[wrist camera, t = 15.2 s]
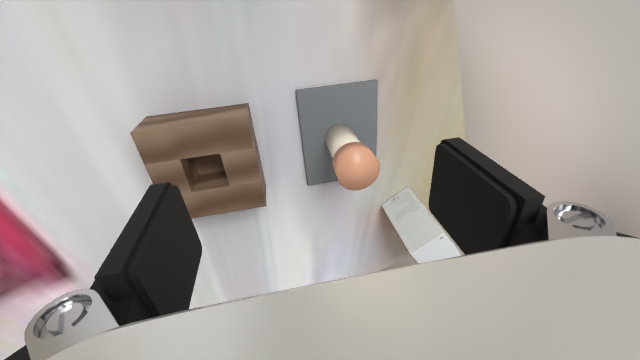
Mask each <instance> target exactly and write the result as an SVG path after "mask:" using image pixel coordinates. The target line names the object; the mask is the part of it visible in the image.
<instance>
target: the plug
mask: <svg viewBox="0 0 640 360" xmlns="http://www.w3.org/2000/svg"><path fill="white" fill-rule="evenodd" d="M325 142H326V145H327V147H328V149H329V151H330V154H331V156H332V158H333V161H332V165H333V169H334V171H335V174H336V176H337V178H338V181H339V182H340V184H341V185H342V186H343V187H345V188H346V189H349V190H361V189H364V188H366V187H368V186H370V185H371V184H372V183H373V182H374V181H375V180H376V179H377V177H378V175H379V171H380V165H379V161H378V160H377V158H376V157H375V155H374V154H373V153H372V151H371V150H370V149H369V147H368V146H366V145H365V144H363V143H361V142H360V141H359V140H358V138H357V137H356V135H355V134H354V133H353V131H352V130H351V128H350V127H348V126H347V125H343V124H338V125H335V126H333V127H331V128H330V129H329V130H328V132H327V133H326V136H325Z"/></svg>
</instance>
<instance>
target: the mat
mask: <svg viewBox="0 0 640 360" xmlns="http://www.w3.org/2000/svg"><path fill="white" fill-rule="evenodd" d="M296 96H297V104H298V112H299V120H300V128H301V136H302V144H303V152H304V160H305V168H306V176H307V184H308V185H314V184H320V183H326V182H332V181H338V178H337V176H336V174H335V171H334V169H333V165H332V161H333V158H332V156H331V154H330V151H329V149H328V147H327V145H326V142H325V136H326V133H327V132H328V130H329V129H330V128H331V127H333V126H335V125H338V124H343V125H347V126H348V127H350V128H351V130H352V131H353V133H354V134H355V135H356V137H357V138H358V140H359V141H360V142H361V143H363V144H365V145H366V146H368V147H369V149H370V150H371V151H372V153H373V154H374V155H375V157H376V137H377V80H369V81H362V82H354V83H346V84H338V85H331V86H323V87H315V88H308V89H300V90H296Z"/></svg>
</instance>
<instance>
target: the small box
mask: <svg viewBox="0 0 640 360" xmlns="http://www.w3.org/2000/svg"><path fill="white" fill-rule="evenodd" d="M381 206H382V208H383V210H384V211H385V213H386V215H387V216H388V218H389V220H390V221H391V223H392V225H393V226H394V228H395V230H396V232H397V233H398V235H399V237H400V238H401V240H402V242H403V244H404V245H405V247H406V249H407V250H408V252H409V254H410V255H411V256H412V258H413V259H414V260H415V261H416V262H417V263H418V264H420V263H425V262H430V261H436V260H441V259H446V258H452V257H457V256H462V255H461V254H460V253H459V251H458V250H457V248H456V247H455V245H454V244H453V242H452V241H451V240H450V239H449V237H448V236H447V235H446V233H445V232H444V231H443V230H442V228H441V227H440V226H439V224H438V223H437V222H436V221H435V219H434V218H433V217H432V216H431V214H430V213H429V212H428V210H427V209H426V208H425V207H424V205H423V204H422V203H421V201H420V200H419V199H418V198H417V196H416V195H415V194H414V192H413V191H412V190H411V189H410V188H409V187H406V188H405V189H403V190H402V191H401V192H399V193H398V194H396V195H395V196H394V197H392V198H391V199H389V200H388V201H387V202H385V203H384V204H382V205H381Z"/></svg>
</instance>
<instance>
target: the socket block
mask: <svg viewBox="0 0 640 360" xmlns="http://www.w3.org/2000/svg"><path fill="white" fill-rule="evenodd" d="M131 136H132V138H133V140H134V142H135V144H136V147H137V149H138V151H139V153H140V156H141V158H142V160H143V162H144V164H145V167H146V169H147V171H148V173H149V176H150V178H151V180H152V182H153V184H159V183H166V182H170V183H171V184H172V185H173V186H174V185H177V186H178V187H179V190H180V192H181V195H182V197H183V200H184V202H185V205H186V207H187V210H188V212H189V215H190V217H191V218H197V217H203V216H209V215H215V214H221V213H227V212H233V211H239V210H245V209H251V208H257V207H263V206H266V184H265V180H264V175H263V170H262V166H261V161H260V156H259V152H258V147H257V142H256V138H255V133H254V128H253V124H252V119H251V114H250V110H249V105H248V103H247V104H239V105H232V106H224V107H216V108H209V109H201V110H194V111H186V112H178V113H171V114H163V115H156V116H148V117H146V118H145V119H144V120H143V121H142V122H141V123H140V124H139V125H138V126H137V127H136V128H135V129H134V130H133V131H132V132H131Z"/></svg>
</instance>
